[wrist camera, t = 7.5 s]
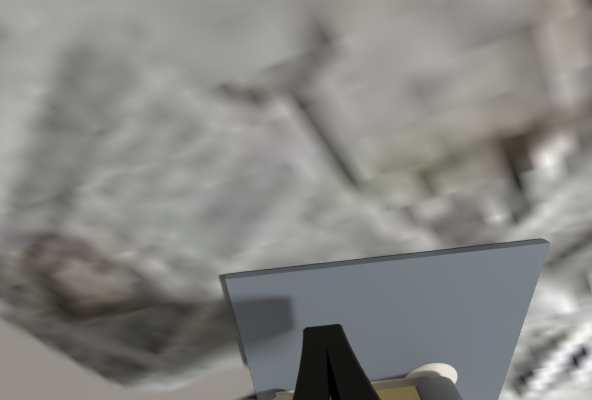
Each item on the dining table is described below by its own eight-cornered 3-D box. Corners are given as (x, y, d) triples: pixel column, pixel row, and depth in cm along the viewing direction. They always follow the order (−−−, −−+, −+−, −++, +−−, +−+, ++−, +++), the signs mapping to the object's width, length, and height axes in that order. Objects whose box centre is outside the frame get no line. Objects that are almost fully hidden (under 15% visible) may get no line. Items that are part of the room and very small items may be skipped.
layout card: (479, 438, 17) (483, 445, 17) (275, 460, 17) (275, 467, 17) (543, 238, 11) (550, 243, 11) (226, 274, 11) (224, 279, 11)
